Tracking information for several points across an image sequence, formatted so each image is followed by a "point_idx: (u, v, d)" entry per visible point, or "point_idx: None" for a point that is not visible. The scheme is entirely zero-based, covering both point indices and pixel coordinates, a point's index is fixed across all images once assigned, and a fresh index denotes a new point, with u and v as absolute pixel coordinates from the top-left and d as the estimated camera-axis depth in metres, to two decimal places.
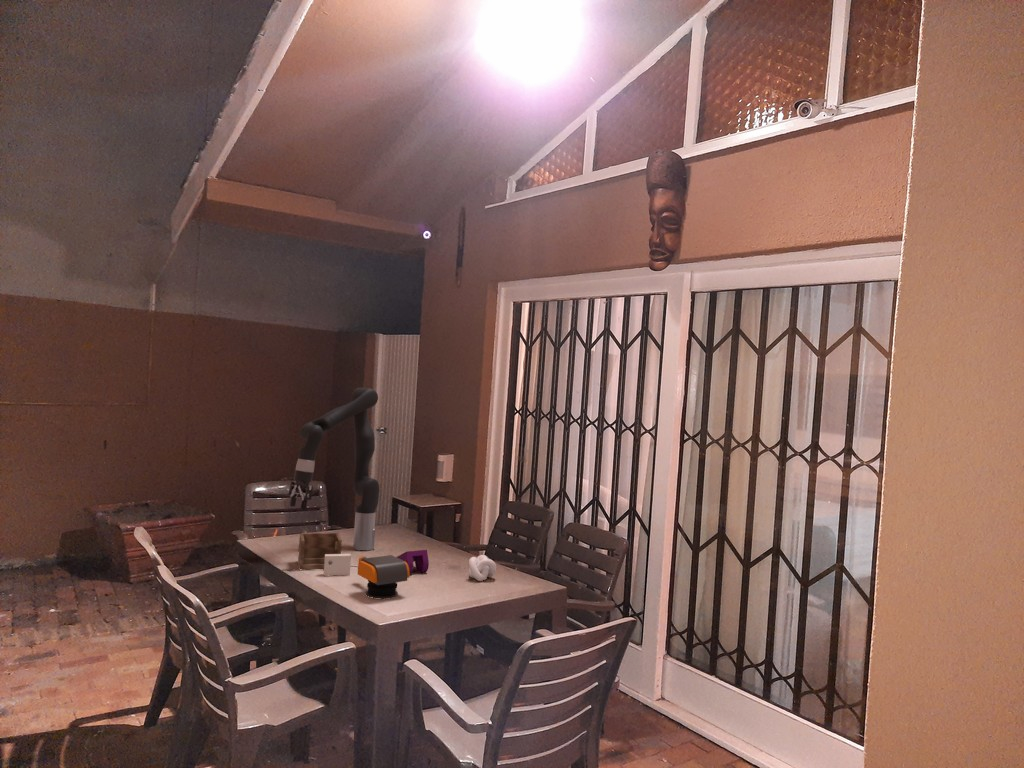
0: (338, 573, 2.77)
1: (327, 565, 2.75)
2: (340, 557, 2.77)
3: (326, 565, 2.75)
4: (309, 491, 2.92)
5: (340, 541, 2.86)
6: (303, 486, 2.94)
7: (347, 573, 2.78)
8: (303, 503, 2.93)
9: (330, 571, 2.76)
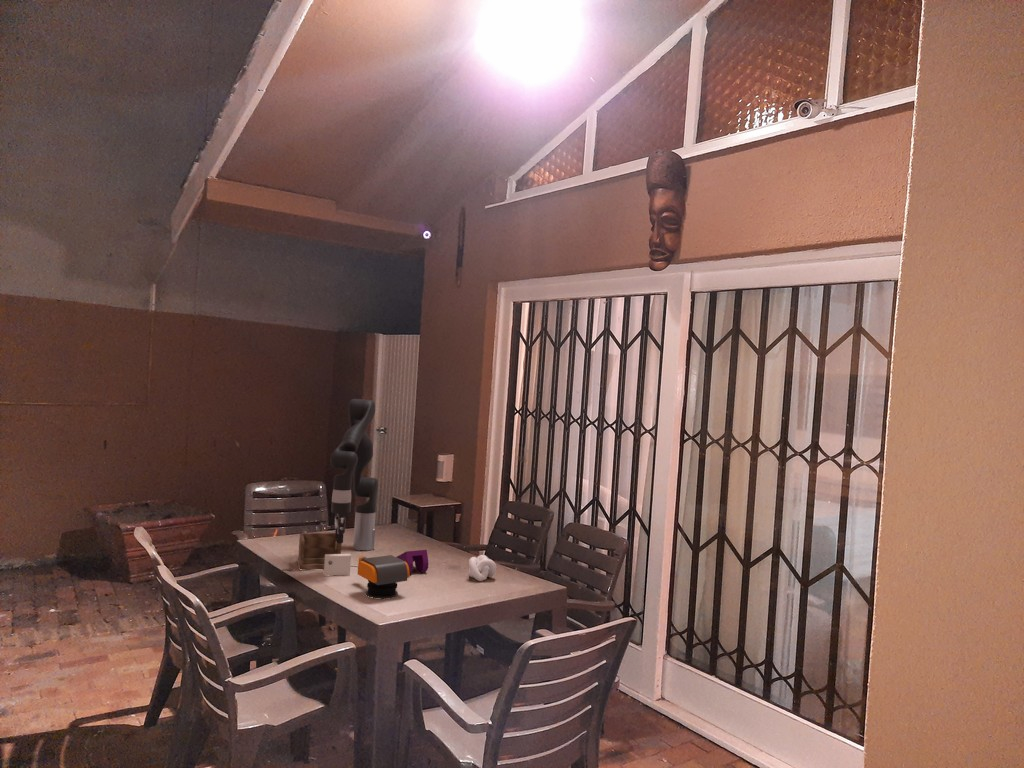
0: (338, 573, 2.77)
1: (327, 565, 2.75)
2: (340, 557, 2.77)
3: (326, 565, 2.75)
4: (341, 524, 2.72)
5: None
6: (338, 518, 2.75)
7: (347, 573, 2.78)
8: (338, 537, 2.73)
9: (330, 571, 2.76)
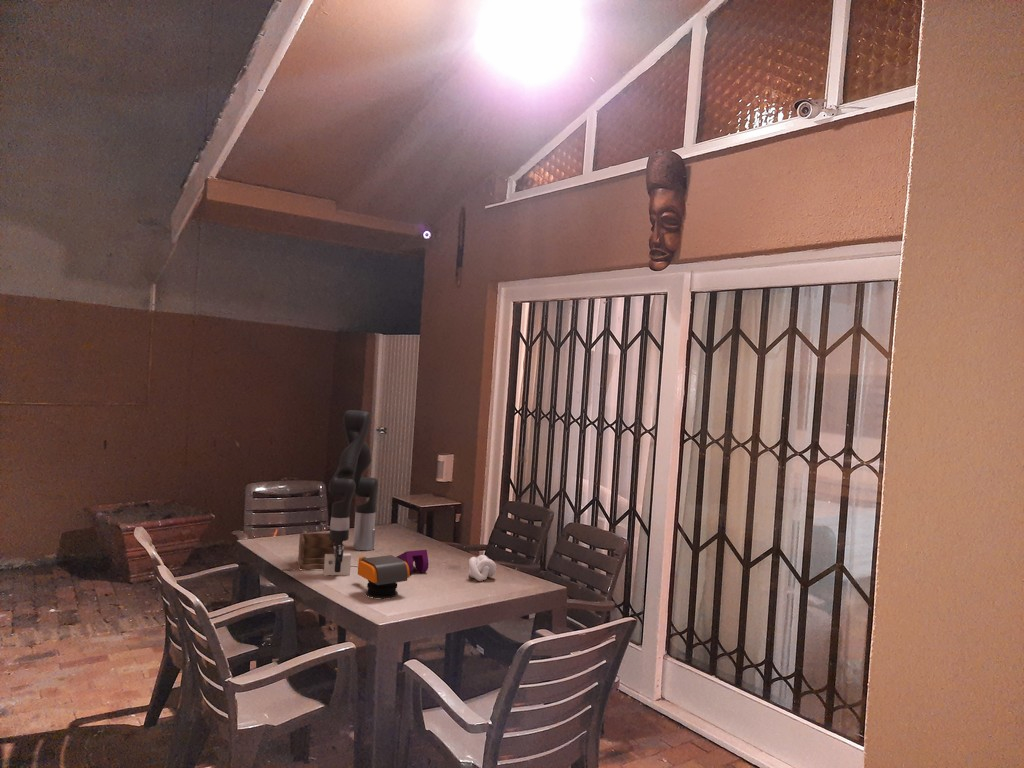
0: (338, 573, 2.77)
1: (327, 564, 2.75)
2: None
3: (326, 565, 2.75)
4: (339, 555, 2.73)
5: None
6: (336, 548, 2.75)
7: (347, 573, 2.78)
8: (336, 566, 2.76)
9: (330, 571, 2.76)
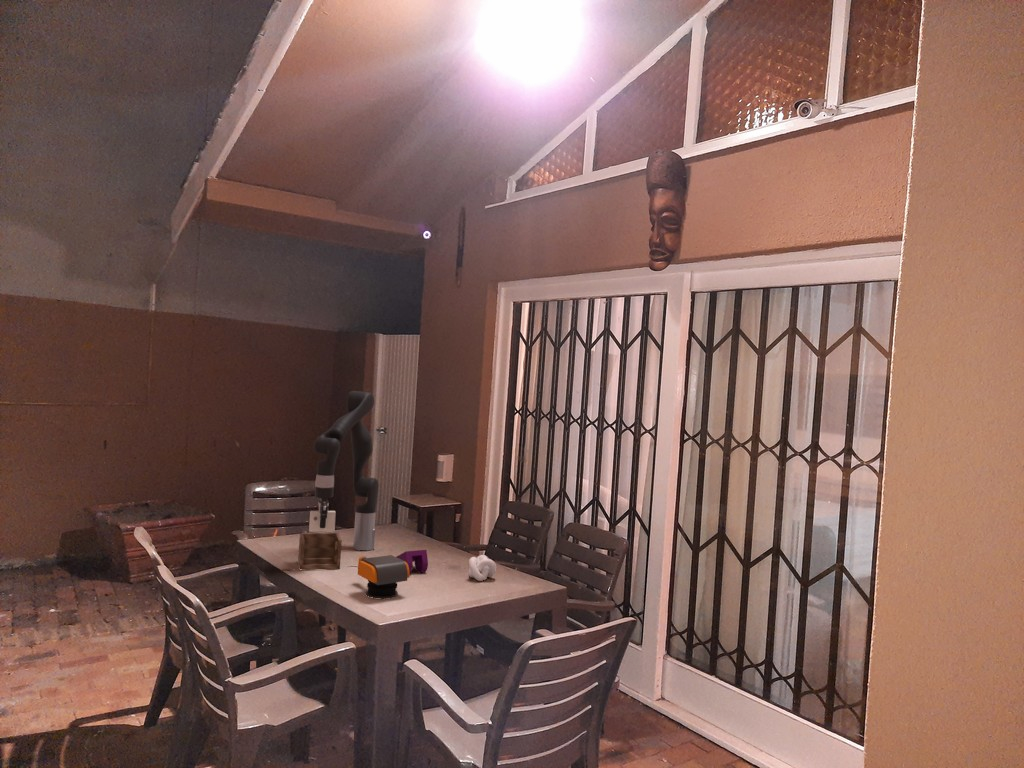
0: (323, 529, 2.86)
1: (312, 521, 2.84)
2: None
3: (311, 521, 2.84)
4: (323, 511, 2.82)
5: (340, 541, 2.86)
6: (321, 505, 2.84)
7: (332, 529, 2.87)
8: (321, 522, 2.84)
9: (315, 527, 2.85)
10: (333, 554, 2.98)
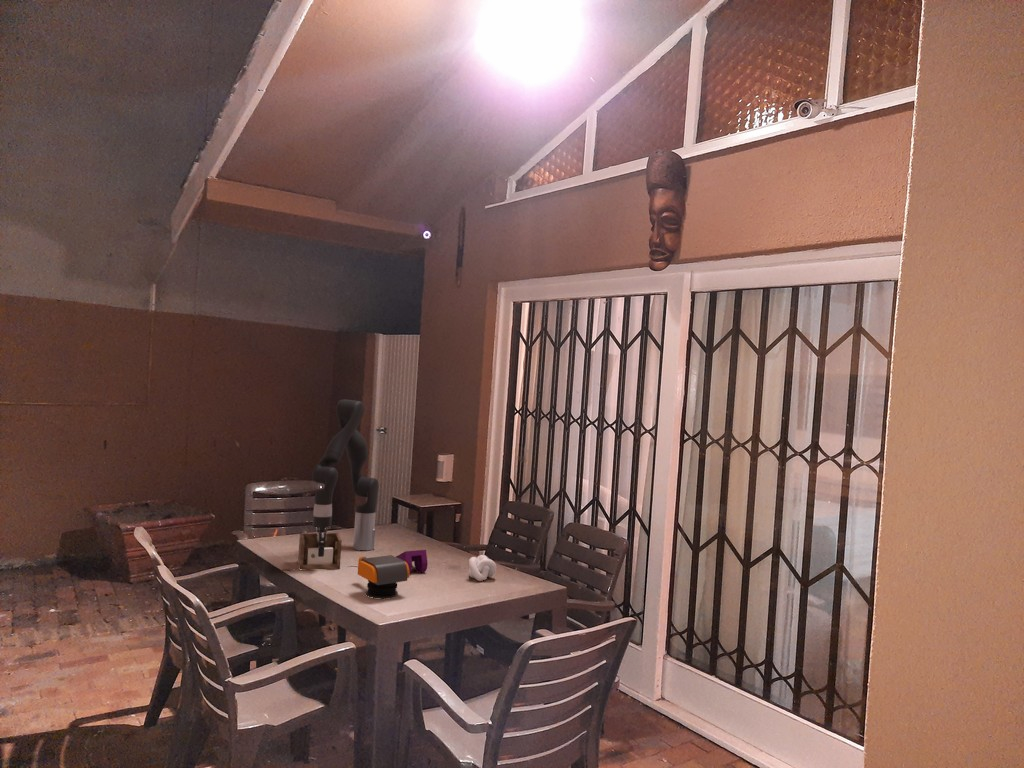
0: None
1: (310, 558, 2.84)
2: None
3: (309, 558, 2.84)
4: (322, 538, 2.81)
5: (340, 541, 2.86)
6: (319, 532, 2.84)
7: None
8: (319, 550, 2.82)
9: None
10: (333, 554, 2.98)
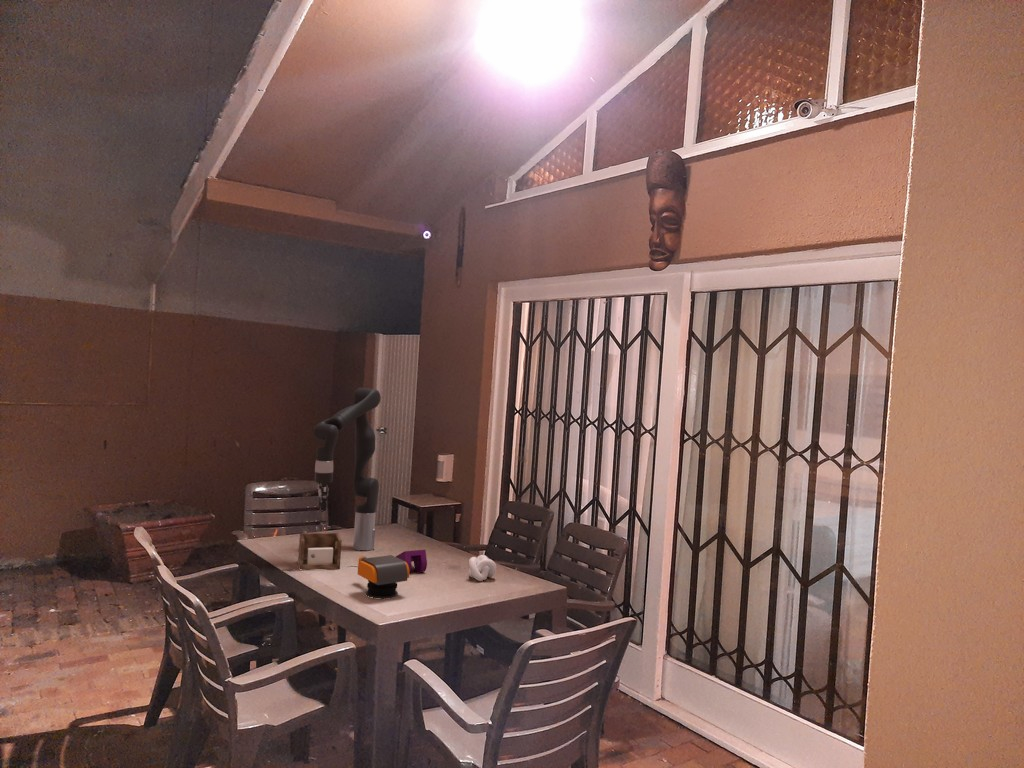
0: None
1: (310, 558, 2.84)
2: (323, 550, 2.86)
3: (309, 558, 2.84)
4: (324, 493, 2.88)
5: (340, 541, 2.86)
6: (321, 487, 2.91)
7: None
8: (322, 505, 2.90)
9: None
10: (333, 554, 2.98)
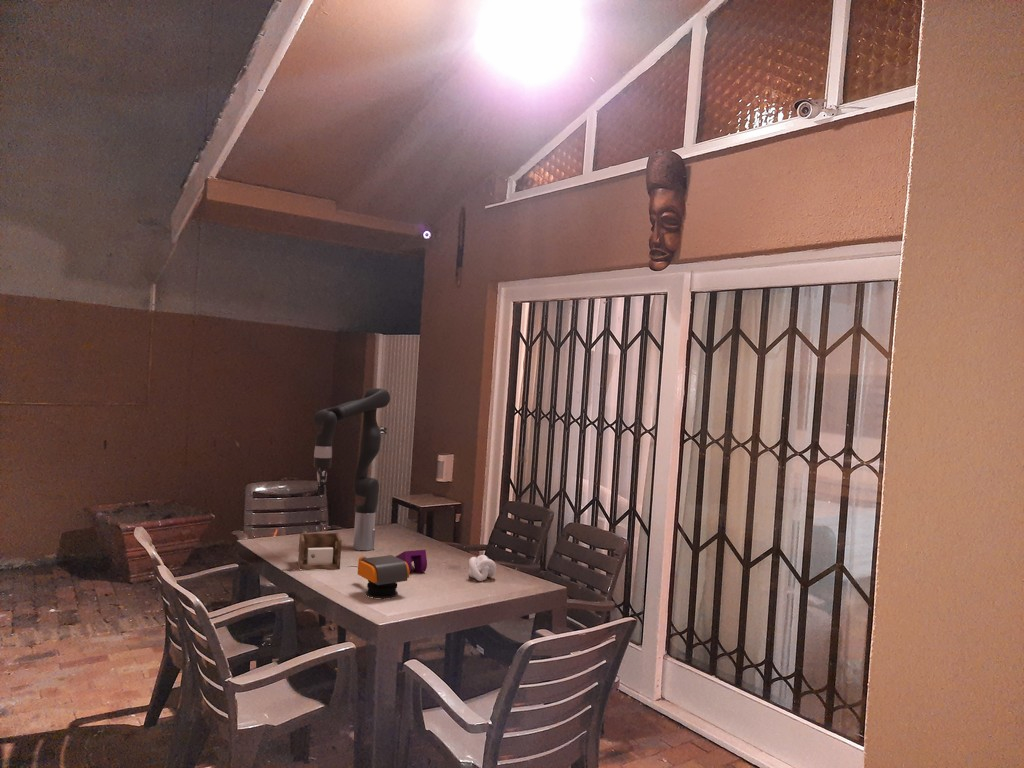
0: None
1: (310, 558, 2.84)
2: (323, 550, 2.86)
3: (309, 558, 2.84)
4: (322, 477, 2.96)
5: (340, 541, 2.86)
6: (320, 472, 2.99)
7: None
8: (320, 489, 2.98)
9: None
10: (333, 554, 2.98)
